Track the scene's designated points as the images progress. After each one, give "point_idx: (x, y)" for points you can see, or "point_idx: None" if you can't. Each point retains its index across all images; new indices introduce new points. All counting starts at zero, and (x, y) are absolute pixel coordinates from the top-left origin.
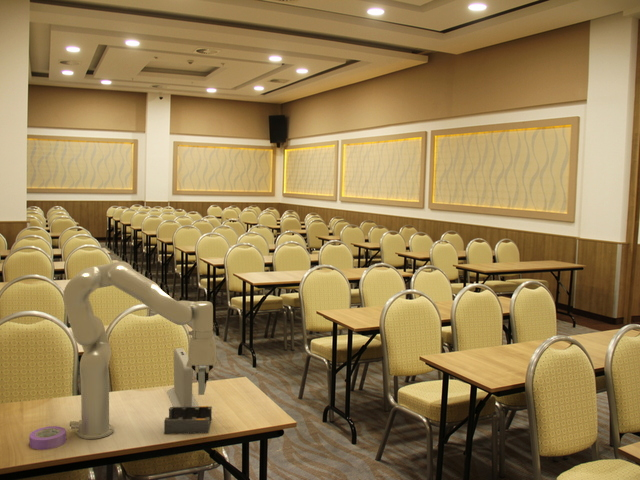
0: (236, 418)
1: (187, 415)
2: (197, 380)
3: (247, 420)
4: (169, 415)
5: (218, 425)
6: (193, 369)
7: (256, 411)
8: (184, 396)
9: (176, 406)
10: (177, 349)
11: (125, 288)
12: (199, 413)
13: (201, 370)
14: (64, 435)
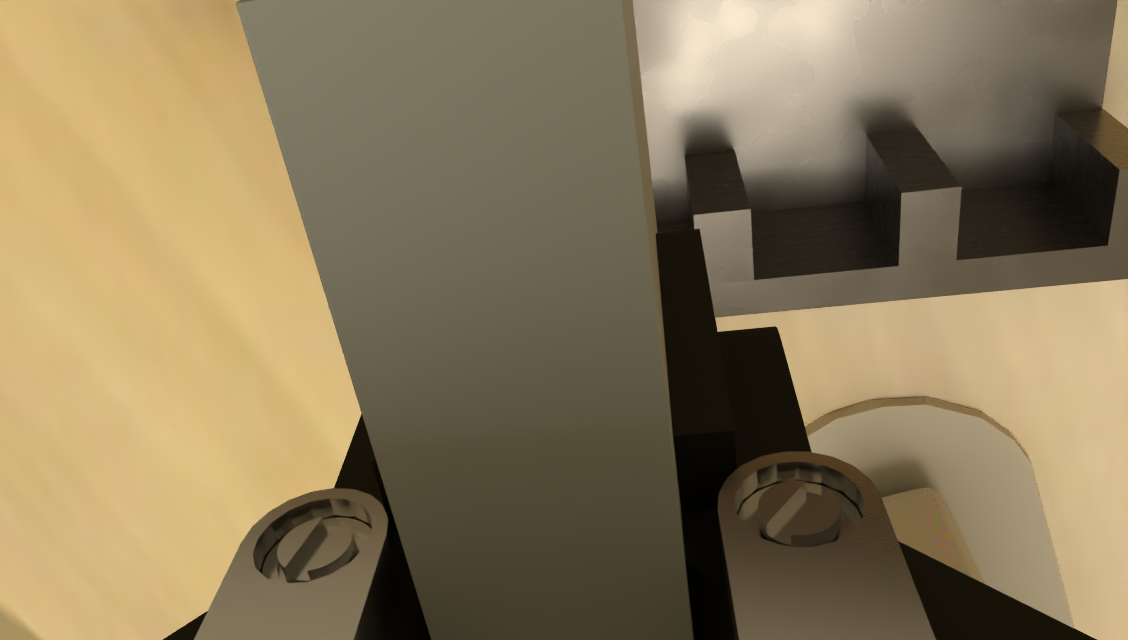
0: (243, 285)
1: (850, 216)
2: (739, 332)
3: (91, 237)
4: (1121, 132)
5: None
6: (1014, 608)
7: (103, 477)
8: (960, 571)
9: (1014, 534)
10: None
11: None
12: None
13: (569, 530)
14: None
